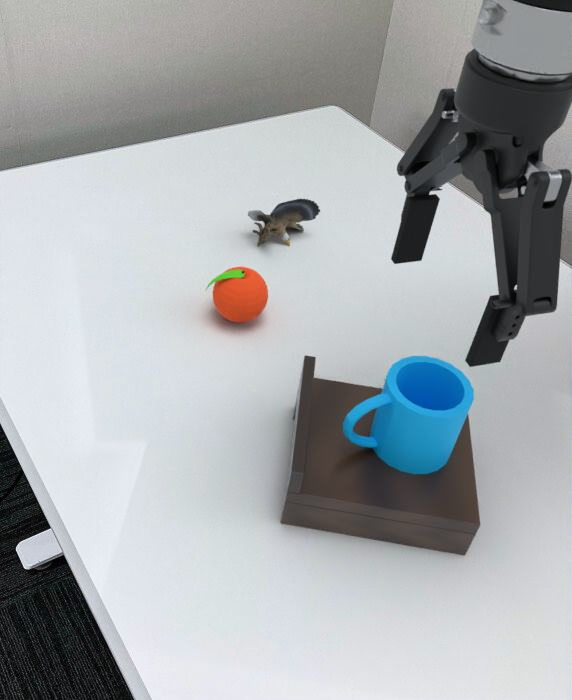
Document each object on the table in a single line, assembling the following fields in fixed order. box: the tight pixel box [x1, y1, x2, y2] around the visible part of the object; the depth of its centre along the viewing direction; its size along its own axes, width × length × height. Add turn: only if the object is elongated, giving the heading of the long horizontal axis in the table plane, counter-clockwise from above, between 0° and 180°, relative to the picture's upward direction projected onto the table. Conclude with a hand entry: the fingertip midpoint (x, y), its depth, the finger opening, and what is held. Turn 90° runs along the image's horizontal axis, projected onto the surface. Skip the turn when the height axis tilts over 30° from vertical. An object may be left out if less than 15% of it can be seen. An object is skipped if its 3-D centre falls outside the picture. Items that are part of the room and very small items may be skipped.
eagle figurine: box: [247, 198, 321, 247], centre depth 110 cm, size 8×7×9 cm
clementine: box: [204, 266, 269, 323], centre depth 96 cm, size 8×7×7 cm
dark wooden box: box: [280, 355, 481, 556], centre depth 78 cm, size 18×16×8 cm
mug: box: [343, 355, 475, 474], centre depth 75 cm, size 12×8×8 cm
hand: (441, 307), depth 65 cm, fingers open, 13 cm apart
